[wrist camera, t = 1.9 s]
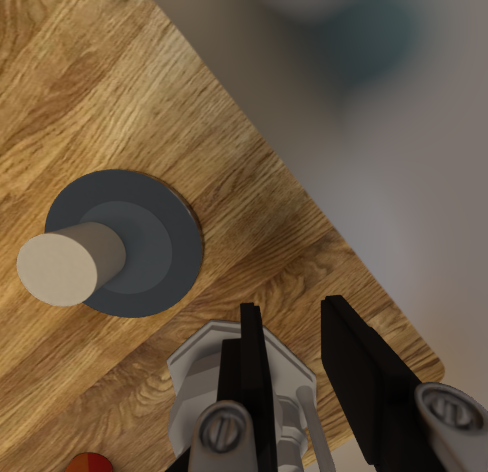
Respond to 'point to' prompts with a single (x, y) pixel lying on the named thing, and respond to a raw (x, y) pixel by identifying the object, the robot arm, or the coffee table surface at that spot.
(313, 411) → the grey faceted model
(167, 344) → the coffee table surface
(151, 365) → the coffee table surface
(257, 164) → the coffee table surface
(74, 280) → the short beige cylinder
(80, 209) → the plate
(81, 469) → the coffee cup
